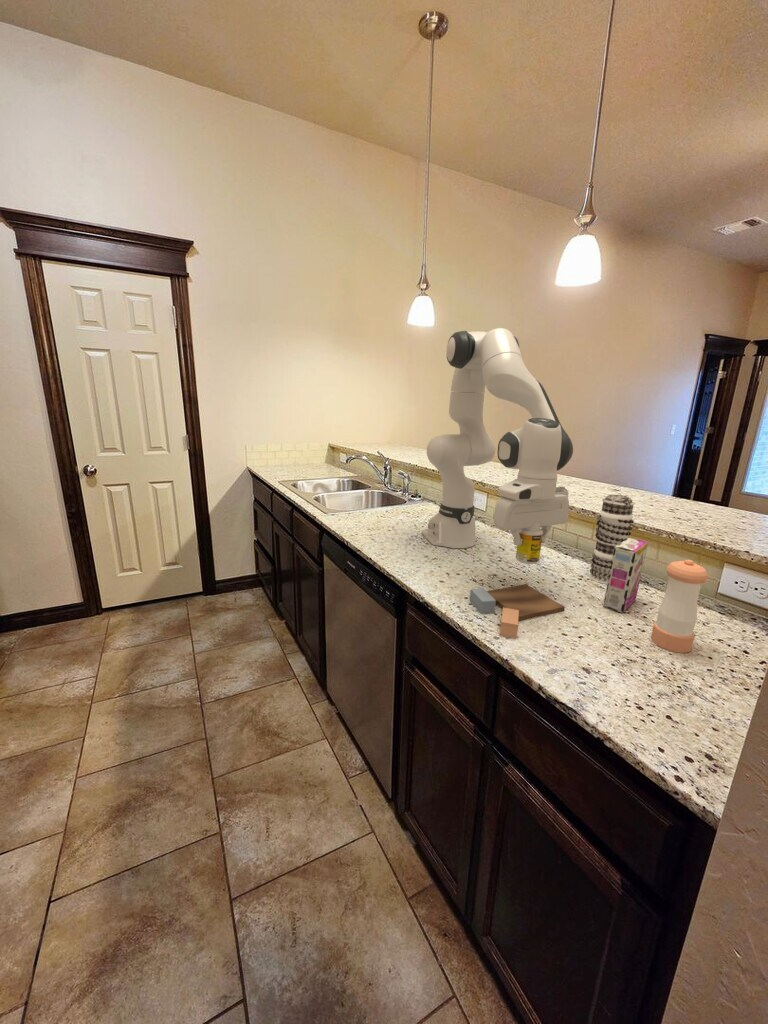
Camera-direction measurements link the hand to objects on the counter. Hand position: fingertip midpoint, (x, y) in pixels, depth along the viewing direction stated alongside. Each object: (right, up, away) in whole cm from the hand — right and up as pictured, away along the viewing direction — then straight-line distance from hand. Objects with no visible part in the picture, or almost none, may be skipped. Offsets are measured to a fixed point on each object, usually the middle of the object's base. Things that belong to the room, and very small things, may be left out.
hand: (529, 543), depth 101 cm
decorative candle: (+30, -12, +20) cm, 38 cm away
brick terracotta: (-7, -19, -8) cm, 22 cm away
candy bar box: (+25, -16, +5) cm, 31 cm away
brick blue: (-11, -16, +2) cm, 20 cm away
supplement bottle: (0, -5, +1) cm, 5 cm away
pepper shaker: (+26, -21, -12) cm, 36 cm away
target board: (0, -16, +4) cm, 16 cm away
